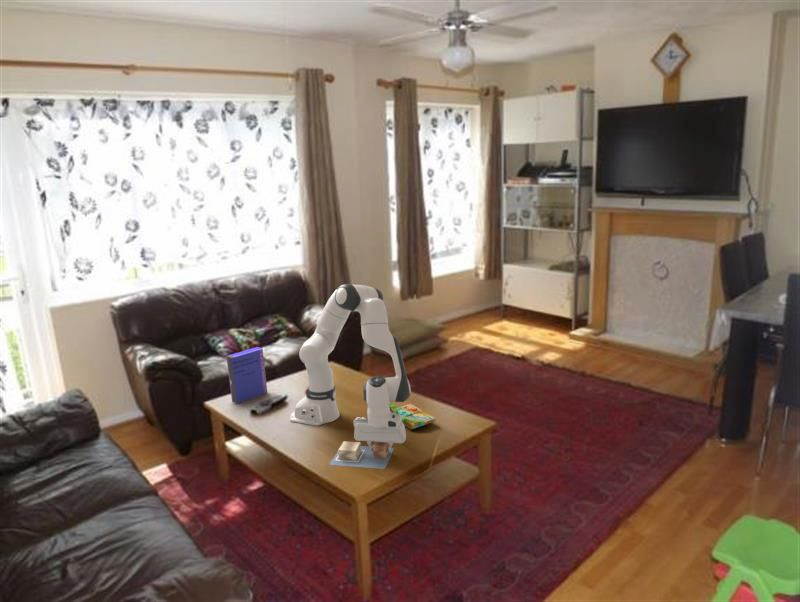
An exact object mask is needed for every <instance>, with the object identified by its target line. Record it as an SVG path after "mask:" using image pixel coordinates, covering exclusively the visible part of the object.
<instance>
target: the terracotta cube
mask: <svg viewBox="0 0 800 602" xmlns="http://www.w3.org/2000/svg"><path fill="white" fill-rule="evenodd" d="M372 444H373V458H386V457H387V455H388V453H389V452H387V450H386V448H387V446H389V443H387V442H373V443H372Z"/></svg>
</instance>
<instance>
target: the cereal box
mask: <svg viewBox="0 0 800 602" xmlns="http://www.w3.org/2000/svg"><path fill="white" fill-rule="evenodd" d="M226 363H227V371H228V372H227V373H228V380H229V388H230V396H231V402H232V403H234V404H241V403H244V402H246V401H248V400H252V399H255V398H257V397H260V396H263V395H265V394H268V389H267V388H268V387H267V385H268V384H267V376H266V368H265V367H266V366H265V357H264V350H263V348H262V347H259V346H255V347H253V348H249V349H246V350H242V351H240V352H236V353H232V354H229V355H226Z"/></svg>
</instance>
